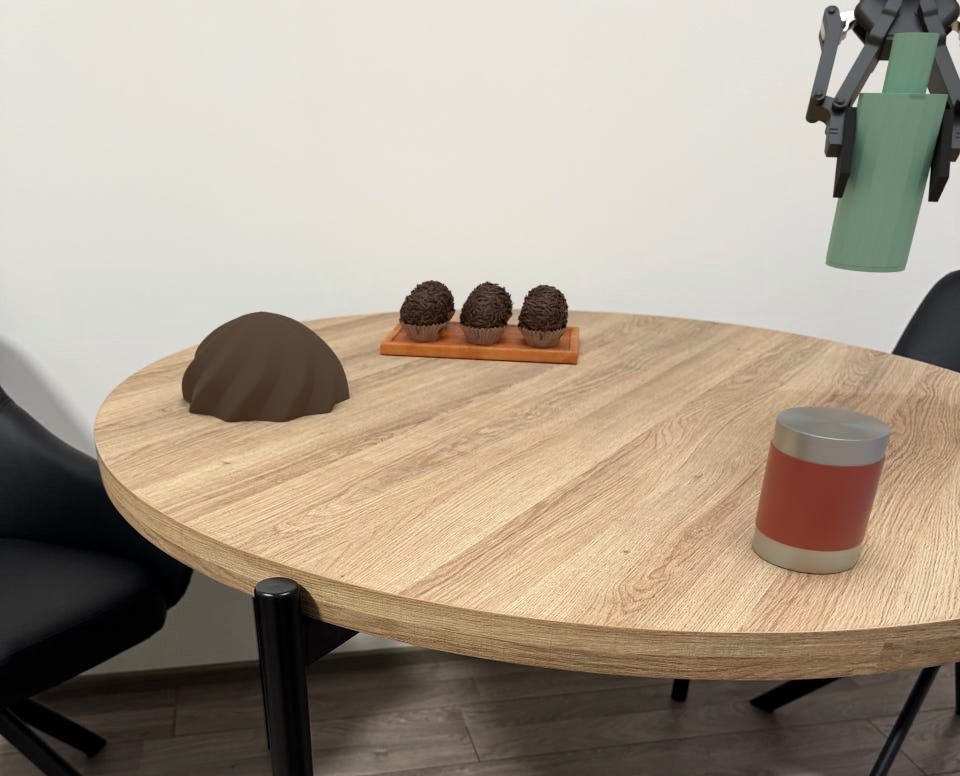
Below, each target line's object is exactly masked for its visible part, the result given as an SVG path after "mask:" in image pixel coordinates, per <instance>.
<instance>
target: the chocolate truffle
mask: <svg viewBox="0 0 960 776" xmlns="http://www.w3.org/2000/svg"><path fill="white" fill-rule="evenodd" d="M523 301H524V302H522V306H521V308H520V312H519V315H518V316H517V320H518V323H508V322H509V320H510V319H511V318H512V317H513V315H514V312H513V308H514V302H513V300H512V294H511V293H510V292H509V291H507V290H506V287H505V286H504V285H503V286H500V284H499V283H493V282H490V281H489V280H487V281H485V282H483V283H479V285H476V287H474V288H473V290H472V291H471V292H469V294H468V297H467V298H466V300H465V302H464V303H463V304H462V307H461V310H460V314H459V321H453V320H452V319H453V318H454V316H455V314H456V312H457V310H456V308H455V297H454V296H453V293H452V290H450V289H449V287H448V286H447V285H446V284H445V283H444V282H443V283H442V282H441V281H438V280H433V279H430V280H426V281H422V282H421V283H420V284H419V283H416V286H415V287H414V289H412V290H411V291H410V294H408V295H405V298H404V301H403V302H402V304H401V306H400V309H399V319H398V323H397V324H396V325H395V326H394V327H393V329H392V330H391V331H390V332H389V333H388V334H387V336H386V337H385V338H384V339H383V340H382V341H381V343H380V344H379V353H380V354H381V355H385V356H387V355H388V356H404V357H405V356H406V357H427V358H428V357H429V358H449V359H470V360H489V361H490V360H491V361H508V362H509V361H510V362H512V361H513V362H529V363H530V362H532V363H533V362H534V363H553V364H572V365H574V364H575V365H576V364H577V363H578V359H579V358H578V357H579V345H580V327H579V326H568V323H569V322H568V321H569V320H568V319H569V307H570V306H569V305H568V303H567V298H566V296H565V294H564V293H562V291H561V290H560V289H558V288H556V286H554V285H552V286H551V285H549V284H539V285H537V286H536V287H533V288H531V290H528V291H527V294H525V296H524V298H523Z"/></svg>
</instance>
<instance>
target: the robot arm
mask: <svg viewBox="0 0 960 776" xmlns="http://www.w3.org/2000/svg"><path fill="white" fill-rule="evenodd" d="M849 31H852V32H853V33H854V34H855V36H856V37H857V38H858V39H859V41H860V42H861V43H862V44H863V46H862V49H861V50H860V52H859V54H858V56H857V57H856V59H855V61H854V62H853V64H852V66H851V68H850V70H849V71H848V73H847V74H846V77H845V78H844V80H843V81H842V83H841V85H840V88H839V89H838V90H837V92H836V94H835V96H834V97H833V96H829V95H827V93H828V89H829V85H830V82H831V77H832V73H833V69H834V64H835V60H836V56H837V52H838V48H839V46H840V45H841V43H842V41H844V40H845V39H846V38H847V35H848V32H849ZM953 31H955V32H956V33H957V34H958V40H959V41H960V4H959V2H958V1H957V0H859V2H858V3H857V4H856V5H855V6H854V10H848V11H842V12H840V9H839V7H838V6H837V5H833V4H832V5H831V4H830V5H828V6H827V7H825V8H824V11H823V15H822V19H821V24H820V28H819V32H818V42H819V46H820V51H821V52H820V57H819V60H818V65H817V68H816V72H815V76H814V80H813V84H812V88H811V92H810V96H809V101H808V104H807V109H806V113H805V121H806V122H807V123H809V124H816V123H818V122H821V123H823V124H824V125H825V128H824V135H825V142H824V152H823V153H824V156H825V158H834V159H835V158H836V164H835V173H834V181H833V182H834V183H833V190H832V191H833V192H832V198H833V199H838V198H842V197H843V194H844V191H845V188H846V185H847V182H848V179H849V175H850V169H851V160H852V150H853V140H854V130H855V120H856V111H857V106H854V104H855V102H857V100H858V98H859V93H862V90H863V88H864V87H865V85H866V83H867V81H868V80H869V78H870V76H871V74H873V73H874V72H875V69H876V68H877V66H878V64H879V62H880V61H882V62H883V61H884V62H885V61H886V62H889V57H890V52H891V48H892V43H893V38H894V34H897V33H938V34H940V35H939V39H938V44H937V48H936V52H935V56H934V61H933V65H932V69H931V73H930V78H929V82H928V86H927V90H928V94H947V95H948V98H947V102H946V106H945V110H944V114H943V118H942V122H941V126H940V131H939V135H938V139H937V143H936V147H935V151H934V155H933V159H932V163H931V167H930V171H929V184H928V197H927V202H928V203H938V202H939V201H940V198H941V196H942V194H943V192H944V190H945V188H946V186H947V183H948V182H949V179H950V175H951V163H956V162H957V161H958V159H959V157H960V76H959V74H958V71H957V68H956V66H955V63H954V61H953V58H952V56H951V54H950V51H949V48H948V46H947V37H948V35H950V34H951V33H952V32H953ZM959 47H960V43H959Z"/></svg>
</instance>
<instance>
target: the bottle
mask: <svg viewBox="0 0 960 776" xmlns="http://www.w3.org/2000/svg"><path fill="white" fill-rule="evenodd" d="M939 35H940V34H938V33H897V34H894V38H893V43H892V48H891V52H890V57H889V61H887V67H886V72H885V76H884V81H883V84H882V85H883V86H882V91H881V92H860V93H859V95H858V97H857V103H856V107H857V111H856V120H855V130H854V140H853V150H852V160H851V169H850V175H849V179H848V182H847V185H846V188H845V191H844V194H843V197H842V198H837V202H836V206H835V211H834V217H833V221H832V226H831V231H830V237H829V241H828V246H827V251H826V256H825V265H826V266H828V267H831V268H834V269H839V270H845V271H851V272H860V273H861V272H863V273H881V274H882V273H883V274H884V273H887V274H888V273H889V274H890V273H900V272H903V271H905V270H906V267H907V264H908V260H909V256H910V253H911V248H912V244H913V240H914V235H915V233H916V227H917V223H918V220H919V215H920V212H921V206H922V203H923V199H924V196H925V192H926V191H925V190H926V187H927V183H928V179H929V176H930V169H931V163H932V159H933V155H934V151H935V147H936V143H937V139H938V135H939V131H940V126H941V122H942V118H943V114H944V110H945V106H946V102H947V98H948V95H947V94H930V93H927V90H928V88H927V86H928V82H929V78H930V73H931V69H932V65H933V61H934V56H935V52H936V48H937V44H938V39H939Z"/></svg>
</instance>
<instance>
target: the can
mask: <svg viewBox="0 0 960 776" xmlns="http://www.w3.org/2000/svg"><path fill="white" fill-rule="evenodd" d="M775 419H776V420H775V425H774V430H773V434H772V435H773V436H772V438H771V440H770V444H769V449H768V453H767V459H766V463H765V468H764V474H763V480H762V485H761V490H760V494H759V501H758V504H757V511H756V515H755V519H754V520H755V521H754V524H755V526H754V532H753V538H752V543H751V546H752V549H753V551H754V552H755V553H756V555H757V556H759V557H760V558H761V559H762V560H764V561H766V562H768V563H770V564H772V565H775V566H777V567H780V568H783V569H786V570H789V571H794V572H800V573H805V574H814V575H815V574H817V575H827V574H829V575H830V574H837V573H841V572H842V573H843V572H845V571H847V570H850V569H852V568H853V567H854V566H855V565H856V564H857V561H858V559H859V558H858V557H859V554H860V551H861V547H862V543H863V542H864V540H865V536H866V534H867V533H866V532H867V530H868V525H869V522H870V518H871V514H872V511H873V507H874V502H875V499H876V495H877V492H878V486H879V483H880V480H881V476H882V472H883V468H884V464H885V461H886V452H887V447H888V444H889V440H890V436H891V432H892V429H891V426H889V424H888V423H887V422H885V421H883V420H881V419H879V418H877V417H876V416H873V415H870V414H867V413H863V412H859V411H854V410H850V409H844V408H838V407H830V406H797V407H791V408H787V409H784V410H782V411H780V412H779V413H777V416H776V418H775Z"/></svg>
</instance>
